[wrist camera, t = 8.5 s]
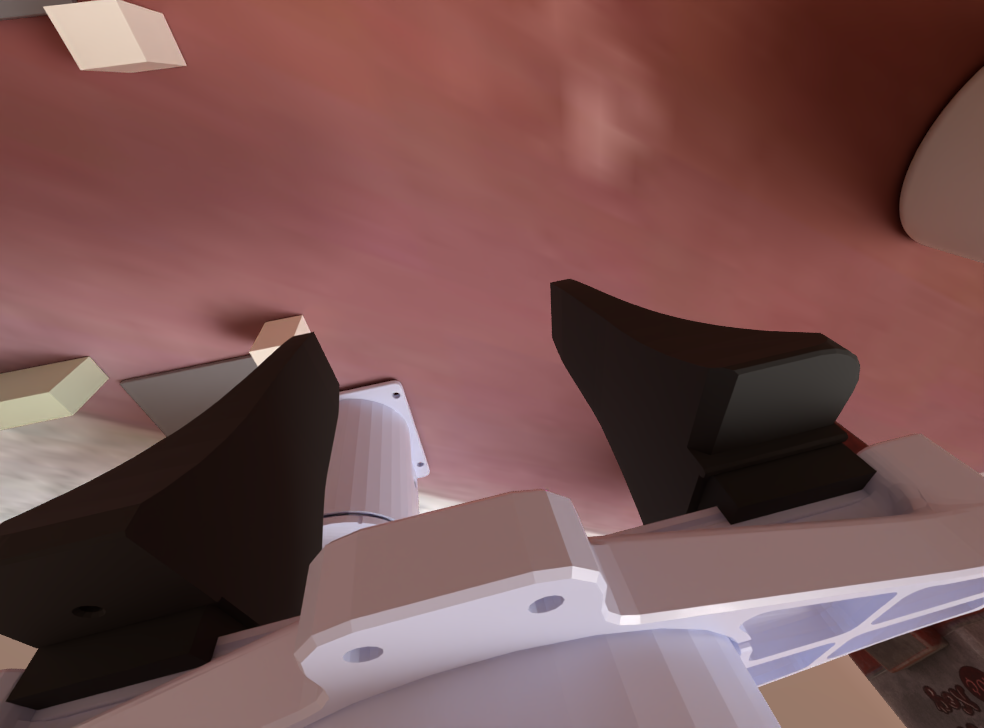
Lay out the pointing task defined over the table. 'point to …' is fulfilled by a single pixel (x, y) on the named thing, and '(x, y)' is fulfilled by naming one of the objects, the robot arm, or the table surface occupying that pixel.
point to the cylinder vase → (949, 178)
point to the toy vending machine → (929, 666)
